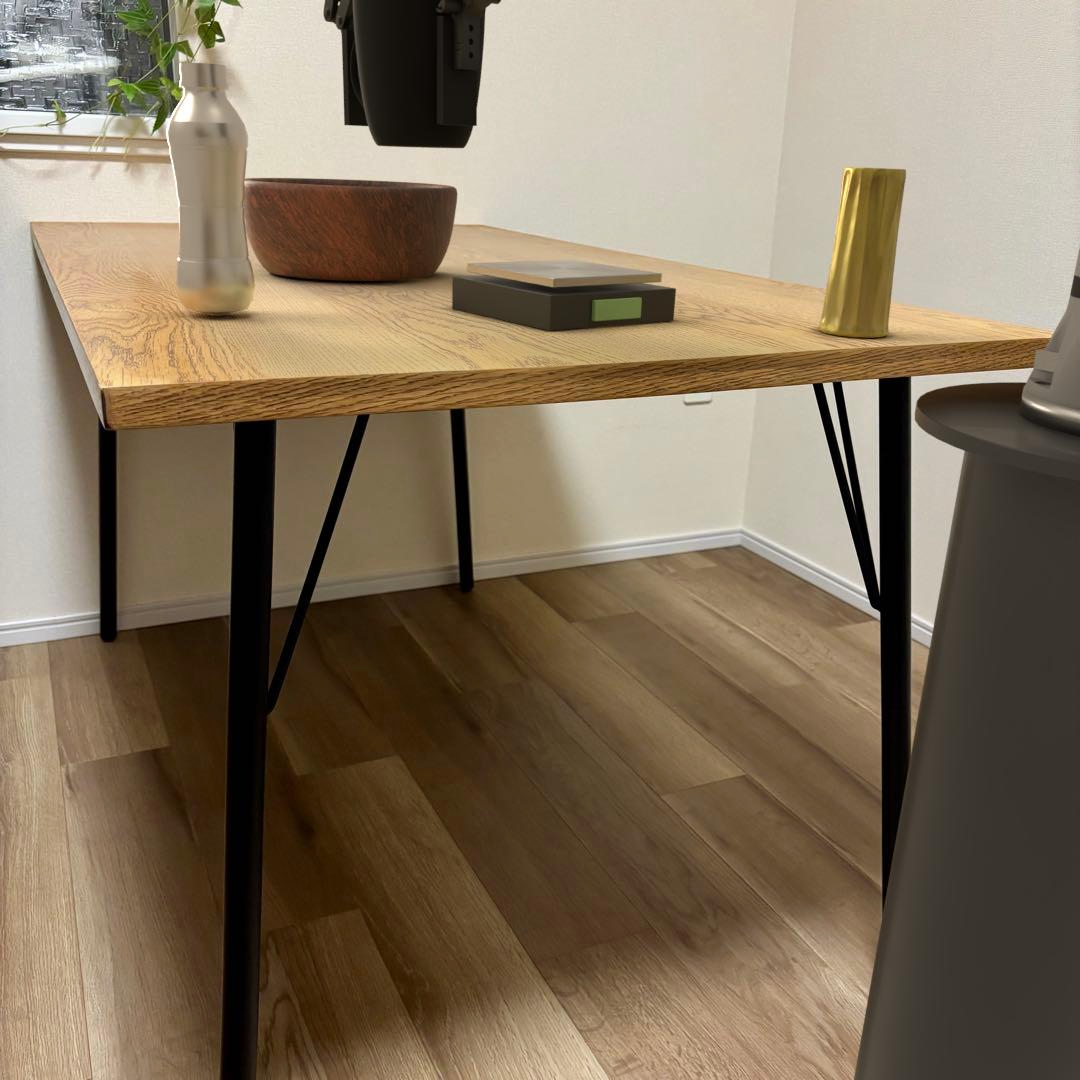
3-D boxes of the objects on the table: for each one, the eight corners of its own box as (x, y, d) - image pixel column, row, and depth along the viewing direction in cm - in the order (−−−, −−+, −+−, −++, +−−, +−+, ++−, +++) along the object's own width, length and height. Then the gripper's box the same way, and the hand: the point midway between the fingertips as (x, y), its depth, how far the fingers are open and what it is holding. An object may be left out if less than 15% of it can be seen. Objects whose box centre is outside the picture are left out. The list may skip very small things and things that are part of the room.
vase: (891, 340, 96) (916, 169, 91) (820, 335, 97) (841, 166, 92) (883, 330, 102) (906, 169, 97) (816, 326, 102) (836, 166, 98)
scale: (676, 321, 102) (679, 288, 101) (552, 331, 93) (554, 296, 92) (571, 300, 113) (572, 271, 112) (451, 308, 104) (452, 276, 103)
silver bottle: (214, 306, 99) (200, 67, 92) (272, 314, 96) (262, 68, 89) (160, 314, 93) (141, 60, 87) (220, 322, 90) (205, 61, 84)
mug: (510, 149, 77) (512, -10, 74) (411, 146, 71) (409, -28, 68) (403, 147, 85) (401, 4, 82) (306, 144, 79) (299, -11, 75)
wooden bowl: (425, 263, 144) (426, 181, 141) (483, 286, 122) (485, 190, 119) (231, 262, 136) (226, 175, 132) (255, 286, 114) (250, 183, 110)
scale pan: (661, 282, 101) (662, 273, 101) (553, 287, 93) (553, 278, 93) (572, 267, 111) (572, 259, 110) (466, 271, 103) (467, 263, 103)
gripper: (267, -203, 77) (282, 124, 84) (460, -303, 59) (459, 122, 66) (360, -181, 81) (367, 128, 89) (566, -268, 64) (554, 127, 71)
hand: (407, 126), depth 77 cm, fingers closed on mug, 12 cm apart
